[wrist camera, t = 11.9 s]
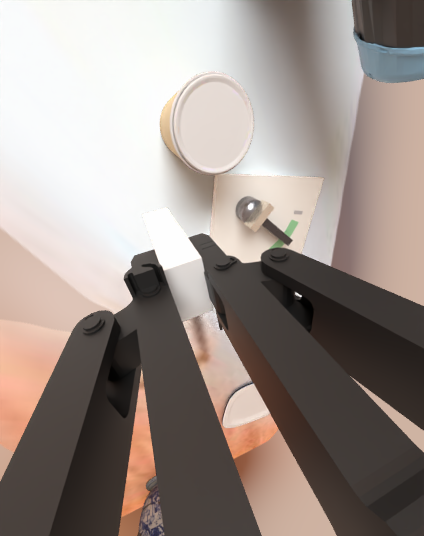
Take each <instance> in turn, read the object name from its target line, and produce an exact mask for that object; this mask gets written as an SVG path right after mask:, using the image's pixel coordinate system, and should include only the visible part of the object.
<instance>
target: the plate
mask: <svg viewBox="0 0 424 536" xmlns="http://www.w3.org/2000/svg"><path fill="white" fill-rule="evenodd" d="M269 414H270V412H269V410H268V409H267V407H266V405H265V403H264V401H263V399H262V398H261V396H260V394H259V392H258V390H257V389H256V387H255V385H254V383H252V384H249V385H247V386H244V387H243V388H241V389H239V390H238V391H236V392H235V393H234V394H233V395H232V396H231V398H230V399H229V401H228V403H227V406H226V409H225V412H224V416H223V423H222V425H223V426H224V427H225V428H234V427H237V426H241V425H244V424H247V423H250V422H252V421H255V420H258V419H260V418H263V417H265V416H267V415H269Z"/></svg>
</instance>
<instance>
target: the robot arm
mask: <svg viewBox="0 0 424 536" xmlns="http://www.w3.org/2000/svg"><path fill="white" fill-rule="evenodd" d="M352 8H353V17H354V32H353V33H354V38H355V40H356V42H357V45H358V50H359V56H360V62H361V67H362V69H363V71H364V73H365V74H366V75H367V76H368V77H370V78H372V79H376V80H377V81H380V82H386V83H399V82H408V81H415V80H420V79H424V0H352ZM142 216H143V219H144V221H145V224H146V227H147V230H148V233H149V236H150V238H151V241H152V244H153V247H154V250H151V251H148V252H145V253H141V254H138V255H135V256H134V257H133V259H132V261H131V266H132V268H131V269H130V270H128V271H127V273H126V274H125V276H124V281H125V283H126V285H127V287H128V289H129V291H130V293H131V295H132V297H133V301H132V302H131V303H130V304H129V305H128V306H127V307H126V308H124V309H123V310H121V311H119V312H118V313H116V314H114V315H113V314H112V312H110V311H106V310H105V311H97V312H94V313H91V314H90V315H88V316H87V317H85V318H83V319H82V320H81V321H80V322H79V323H78V324H77V325H76V326H75V328H74V329H73V331H72V333H71V335H70V337H69V339H68V341H67V343H66V346H65V348H64V350H63V352H62V354H61V356H60V358H59V360H58V362H57V364H56V366H55V369H54V371H53V373H52V375H51V377H50V379H49V381H48V383H47V385H46V387H45V389H44V392H43V394H42V396H41V398H40V400H39V402H38V404H37V406H36V408H35V410H34V412H33V414H32V417H31V419H30V421H29V423H28V425H27V427H26V429H25V431H24V433H23V435H22V437H21V440H20V442H19V444H18V446H17V448H16V450H15V452H14V454H13V456H12V458H11V461H10V463H9V465H8V467H7V469H6V471H5V473H4V475H3V477H2V480H1V481H0V536H118V534H119V527H120V520H121V513H122V505H123V498H124V491H125V484H126V477H127V469H128V462H129V455H130V448H131V441H132V434H133V426H134V419H135V412H136V405H137V398H138V390H139V383H140V376H141V369H142V372H143V379H144V387H145V394H146V402H147V409H148V417H149V424H150V431H151V439H152V446H153V454H154V461H155V469H156V476H157V484H158V491H159V498H160V506H161V513H162V521H163V528H164V536H261V533H260V530H259V527H258V525H257V522H256V519H255V517H254V514H253V511H252V509H251V506H250V503H249V501H248V498H247V495H246V493H245V490H244V487H243V484H242V482H241V479H240V476H239V474H238V471H237V468H236V466H235V463H234V460H233V457H232V455H231V452H230V449H229V447H228V444H227V441H226V439H225V436H224V433H223V430H222V428H221V425H220V422H219V420H218V417H217V414H216V412H215V409H214V406H213V403H212V401H211V398H210V395H209V393H208V390H207V387H206V385H205V382H204V379H203V376H202V374H201V371H200V368H199V366H198V363H197V360H196V358H195V355H194V352H193V350H192V347H191V344H190V341H189V339H188V336H187V333H186V331H185V328H184V325H183V323H182V322H184V321H187V320H189V319H192V318H194V317H197V316H199V315H202V314H204V313H207V312H209V311H212V310H213V306H212V304H213V305H214V307H215V309H216V314H217V318H218V323H219V327H220V330H222V327H223V329H224V331H225V332H226V334H227V336H228V338H229V340H230V342H231V343H232V345H233V347H234V349H235V351H236V352H237V354H238V356H239V358H240V360H241V361H242V363H243V365H244V367H245V369H246V370H247V372H248V374H249V376H250V378H251V380H252V381H253V383H254V385H255V387H256V389H257V390H258V392H259V394H260V396H261V398H262V399H263V401H264V403H265V405H266V407H267V409H268V410H269V412H270V414H271V416H272V418H273V419H274V421H275V423H276V425H277V427H278V428H279V430H280V432H281V434H282V436H283V437H284V439H285V441H286V443H287V445H288V447H289V448H290V450H291V452H292V454H293V456H294V457H295V459H296V461H297V463H298V465H299V466H300V468H301V470H302V472H303V474H304V476H305V477H306V479H307V481H308V483H309V485H310V486H311V488H312V490H313V492H314V494H315V495H316V497H317V499H318V501H319V503H320V504H321V506H322V508H323V510H324V511H325V513H326V515H327V517H328V519H329V521H330V523H331V525H332V526H333V528H334V531H335V533H336V535H337V536H424V452H422V450H420V449H419V448H418V447H417V446H416V445H415V444H414V443H413V442H412V441H411V440H410V439H409V438H408V436H407V435H406V434H405V433H404V432H403V431H402V430H401V429H400V428H399V427H398V426H397V425H396V424H395V423H394V422H393V421H392V420H391V419H390V418H389V417H388V415H387V414H386V413H385V412H384V411H383V410H382V409H381V408H380V407H379V406H378V405H377V404H376V403H375V402H374V401H373V400H372V399H371V398H370V397H369V396H368V394H366V392H365V391H364V390H363V389H362V388H361V387H360V386H359V385H358V384H357V383H356V382H355V381H354V380H353V379H352V378H354V379H355V380H356V381H358V382H359V383H360V384H362V385H363V386H364V387H366V388H367V389H369V390H370V391H371V392H373V393H374V394H375V395H377V396H378V397H379V398H381V399H382V400H383V401H385V402H386V403H387V404H389V405H390V406H391V407H393V408H394V409H395V410H397V411H398V412H399V413H401V414H402V415H404V416H405V417H406V418H407V419H409V420H410V421H411V422H413V423H414V424H415V425H417V426H418V427H420V428H421V429H423V430H424V306H422V305H420V304H417V303H415V302H413V301H410V300H408V299H406V298H403V297H401V296H398V295H396V294H394V293H392V292H389V291H387V290H384V289H382V288H380V287H377V286H375V285H373V284H370V283H368V282H366V281H363V280H361V279H359V278H356V277H354V276H352V275H349V274H347V273H345V272H342V271H340V270H337V269H335V268H333V267H330V266H328V265H326V264H323V263H321V262H319V261H316V260H314V259H312V258H309V257H307V256H305V255H302V254H300V253H298V252H295V251H293V250H290V249H287V248H279V247H276V248H271V249H268V250H266V251H264V252H263V253H262V255H261V261H258V262H251V263H242V262H241V261H240V260H239V259H238V258H236V257H234V256H230V255H226V254H225V253H224V252H223V251H222V250H221V248H220V247H219V246H218V245H217V244H216V243H215V242H214V241H213V240H212V238H211V237H210V236H208V235H205V234H203V233H202V234H198V235H195V236H192V237H189V238H188V237H187V236H186V234H185V233H184V231H183V230H182V229H181V227H180V226H179V224H178V223H177V221H176V220H175V218H174V217H173V216H172V214H171V213H170V211H169V210H168V208H167V207H166V208H162V209H159V210H155V211H152V212H148V213H145V214H142ZM295 292H297V293H298V294H300V295H302V297H298V296H296V295H295ZM141 364H142V367H141ZM349 375H350V376H351V377H352V378H351V377H350V376H349Z"/></svg>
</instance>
